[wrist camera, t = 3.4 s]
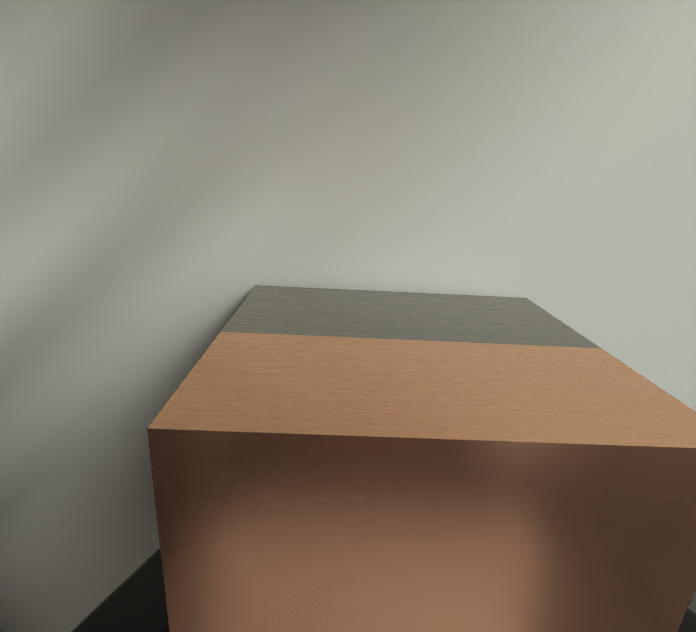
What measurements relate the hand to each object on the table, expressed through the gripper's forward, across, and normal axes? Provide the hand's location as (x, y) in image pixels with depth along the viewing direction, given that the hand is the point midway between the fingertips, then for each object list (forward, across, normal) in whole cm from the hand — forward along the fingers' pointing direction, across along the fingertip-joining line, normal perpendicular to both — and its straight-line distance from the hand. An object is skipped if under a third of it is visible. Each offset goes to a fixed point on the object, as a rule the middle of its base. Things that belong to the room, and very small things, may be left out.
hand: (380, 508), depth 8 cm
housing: (+1, 0, 0) cm, 1 cm away
